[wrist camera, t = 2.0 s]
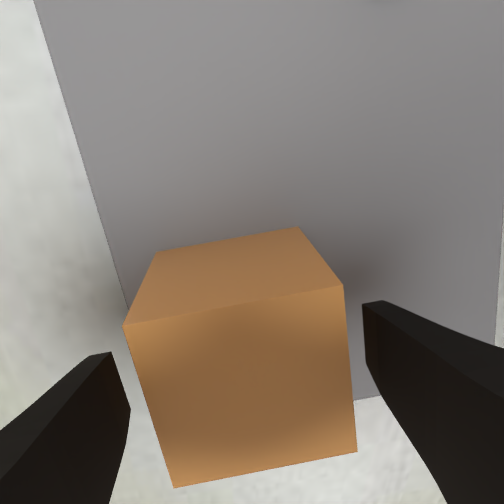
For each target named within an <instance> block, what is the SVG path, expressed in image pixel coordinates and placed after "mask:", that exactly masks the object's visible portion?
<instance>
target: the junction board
mask: <svg viewBox="0 0 504 504" xmlns="http://www.w3.org/2000/svg"><path fill="white" fill-rule="evenodd" d="M33 1H34V4H35V7H36V11H37V14H38V17H39V20H40V24H41V27H42V30H43V33H44V37H45V40H46V43H47V46H48V50H49V53H50V56H51V59H52V63H53V66H54V69H55V72H56V76H57V79H58V82H59V85H60V89H61V92H62V95H63V98H64V102H65V105H66V108H67V111H68V115H69V118H70V121H71V124H72V128H73V131H74V134H75V137H76V141H77V144H78V147H79V150H80V154H81V157H82V160H83V163H84V167H85V170H86V173H87V177H88V180H89V183H90V186H91V190H92V193H93V196H94V199H95V203H96V206H97V209H98V212H99V216H100V219H101V222H102V225H103V229H104V232H105V235H106V238H107V242H108V245H109V248H110V251H111V255H112V258H113V261H114V264H115V268H116V271H117V274H118V277H119V281H120V284H121V287H122V290H123V294H124V297H125V300H126V303H127V307H128V310H130V307H131V305H132V303H133V301H134V299H135V297H136V295H137V292H138V290H139V288H140V286H141V284H142V282H143V279H144V277H145V275H146V273H147V271H148V269H149V266H150V264H151V262H152V260H153V258H154V256H155V254H156V252H159V251H164V250H170V249H175V248H181V247H186V246H192V245H198V244H203V243H209V242H214V241H220V240H225V239H231V238H236V237H242V236H247V235H253V234H258V233H264V232H270V231H275V230H281V229H286V228H292V227H297V226H298V227H299V228H300V230H301V231H302V232H303V233H304V235H305V236H306V237H307V239H308V240H309V241H310V242H311V244H312V245H313V246H314V248H315V249H316V250H317V252H318V253H319V254H320V255H321V257H322V258H323V259H324V261H325V262H326V263H327V265H328V266H329V267H330V268H331V270H332V271H333V272H334V274H335V275H336V276H337V277H338V279H339V280H340V281H341V283H342V284H343V289H344V300H345V312H346V323H347V335H348V347H349V358H350V370H351V382H352V393H353V401H354V400H359V399H364V398H370V397H375V396H380V395H381V394H380V393H379V391H378V388H377V386H376V384H375V382H374V380H373V378H372V376H371V374H370V372H369V369H368V367H367V365H366V361H365V346H364V332H363V317H362V304H363V303H369V302H374V301H379V300H384V301H387V302H390V303H392V304H394V305H397V306H399V307H401V308H404V309H406V310H408V311H410V312H413V313H415V314H417V315H419V316H421V317H424V318H426V319H428V320H430V321H433V322H435V323H437V324H440V325H442V326H444V327H447V328H449V329H452V330H454V331H457V332H459V333H462V334H464V335H467V336H470V337H472V338H475V339H478V340H480V341H483V342H486V343H488V344H491V345H494V342H495V327H496V312H497V298H498V283H499V268H500V254H501V239H502V225H503V210H504V0H33Z"/></svg>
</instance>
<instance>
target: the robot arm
mask: <svg viewBox="0 0 504 504" xmlns="http://www.w3.org/2000/svg"><path fill="white" fill-rule="evenodd" d="M362 317H363V332H364V346H365V361H366V365H367V367H368V369H369V372H370V374H371V376H372V378H373V380H374V382H375V384H376V386H377V388H378V391H379V393H380V394H381V396H382V398H383V399H384V401H385V402H386V404H387V406H388V407H389V409H390V410H391V412H392V413H393V415H394V416H395V418H396V420H397V421H398V423H399V424H400V426H401V427H402V429H403V430H404V432H405V433H406V435H407V436H408V438H409V440H410V441H411V443H412V444H413V446H414V447H415V449H416V450H417V452H418V453H419V455H420V457H421V458H422V460H423V461H424V463H425V464H426V466H427V468H428V469H429V471H430V473H431V474H432V476H433V478H434V479H435V481H436V483H437V485H438V487H439V489H440V490H441V492H442V494H443V496H444V498H445V500H446V502H447V504H504V348H500V347H497V346H494V345H491V344H488V343H486V342H483V341H480V340H478V339H475V338H472V337H470V336H467V335H464V334H462V333H459V332H457V331H454V330H452V329H449V328H447V327H444V326H442V325H440V324H437V323H435V322H433V321H430V320H428V319H426V318H424V317H421V316H419V315H417V314H415V313H413V312H410V311H408V310H406V309H404V308H401V307H399V306H397V305H394V304H392V303H390V302H387V301H384V300H379V301H374V302H369V303H363V304H362ZM130 412H131V408H130V405H129V402H128V399H127V397H126V394H125V391H124V388H123V385H122V382H121V379H120V376H119V373H118V370H117V367H116V364H115V361H114V358H113V355H112V352H106V353H101V354H96V355H91V356H89V357H87V358H86V359H84V360H83V361H82V362H80V363H79V364H78V365H77V366H76V367H74V368H73V369H72V370H71V371H70V372H69V373H67V374H66V375H65V376H64V377H63V378H62V379H61V380H59V381H58V382H57V383H56V384H55V385H54V386H53V387H51V388H50V389H49V390H48V391H47V392H46V393H45V394H43V395H42V396H41V397H40V398H39V399H38V400H37V401H35V402H34V403H33V404H32V405H31V406H30V407H28V408H27V409H26V410H25V411H24V412H22V413H21V414H20V415H19V416H17V417H16V418H15V419H14V420H13V421H11V422H10V423H9V424H8V425H6V426H5V427H4V428H3V429H2V430H0V504H109V502H110V498H111V495H112V491H113V488H114V484H115V481H116V477H117V474H118V471H119V467H120V463H121V460H122V456H123V453H124V449H125V445H126V440H127V434H128V427H129V420H130Z"/></svg>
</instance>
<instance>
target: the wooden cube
mask: <svg viewBox="0 0 504 504" xmlns="http://www.w3.org/2000/svg"><path fill="white" fill-rule="evenodd" d="M122 328H123V331H124V334H125V337H126V340H127V343H128V347H129V350H130V353H131V356H132V359H133V362H134V365H135V369H136V372H137V375H138V378H139V381H140V384H141V387H142V390H143V394H144V397H145V400H146V403H147V406H148V409H149V412H150V416H151V419H152V422H153V425H154V428H155V431H156V434H157V437H158V441H159V444H160V447H161V450H162V453H163V456H164V459H165V463H166V466H167V469H168V472H169V475H170V478H171V481H172V484H173V488H178V487H183V486H188V485H193V484H198V483H203V482H208V481H213V480H218V479H223V478H228V477H233V476H238V475H243V474H248V473H253V472H258V471H263V470H268V469H274V468H279V467H284V466H289V465H294V464H299V463H304V462H309V461H314V460H319V459H324V458H329V457H334V456H339V455H344V454H349V453H354V452H358V451H357V440H356V428H355V416H354V405H353V393H352V382H351V370H350V358H349V347H348V335H347V323H346V312H345V300H344V289H343V284H342V283H341V281H340V280H339V279H338V277H337V276H336V275H335V274H334V272H333V271H332V270H331V268H330V267H329V266H328V265H327V263H326V262H325V261H324V259H323V258H322V257H321V255H320V254H319V253H318V252H317V250H316V249H315V248H314V246H313V245H312V244H311V242H310V241H309V240H308V239H307V237H306V236H305V235H304V233H303V232H302V231H301V230H300V228H299V227H298V226H297V227H292V228H286V229H281V230H275V231H270V232H264V233H258V234H253V235H247V236H242V237H236V238H231V239H225V240H220V241H214V242H209V243H203V244H198V245H192V246H186V247H181V248H175V249H170V250H164V251H159V252H156V254H155V256H154V258H153V260H152V262H151V264H150V266H149V269H148V271H147V273H146V275H145V277H144V279H143V282H142V284H141V286H140V288H139V290H138V292H137V295H136V297H135V299H134V301H133V303H132V305H131V307H130V310H129V312H128V314H127V316H126V318H125V320H124V323H123V325H122Z"/></svg>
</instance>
